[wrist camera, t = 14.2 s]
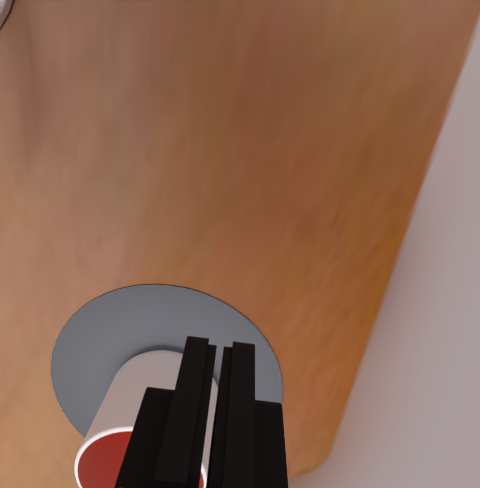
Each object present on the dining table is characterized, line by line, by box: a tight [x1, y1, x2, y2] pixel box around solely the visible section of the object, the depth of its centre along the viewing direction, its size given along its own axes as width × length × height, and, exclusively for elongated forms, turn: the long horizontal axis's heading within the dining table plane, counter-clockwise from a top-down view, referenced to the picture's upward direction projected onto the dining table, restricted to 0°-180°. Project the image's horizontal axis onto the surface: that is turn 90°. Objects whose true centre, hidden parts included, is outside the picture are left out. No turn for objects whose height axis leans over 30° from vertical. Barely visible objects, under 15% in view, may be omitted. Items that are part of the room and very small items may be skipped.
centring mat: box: [51, 284, 283, 437], centre depth 42 cm, size 22×22×1 cm
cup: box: [74, 350, 218, 488], centre depth 38 cm, size 10×10×10 cm
